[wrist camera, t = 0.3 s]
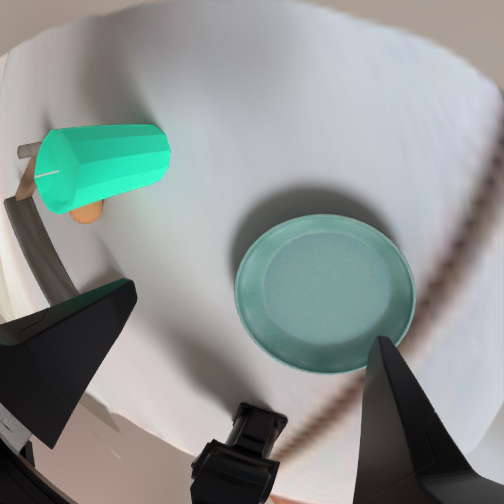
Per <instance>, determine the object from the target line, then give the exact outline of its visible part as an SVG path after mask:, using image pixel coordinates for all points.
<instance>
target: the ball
mask: <svg viewBox="0 0 504 504" xmlns="http://www.w3.org/2000/svg"><path fill="white" fill-rule="evenodd" d="M102 207H103V202H102V200H100V201H97V202H94V203H91V204H88V205H85V206H82V207H79V208H77V209H74V210H71V211H69V212H70V215H71V216H72V218H73V219H74V220H75V221H77V222H79V223H83V224H87V223H91V222H93V221H94V220H96V219H97V218H98V216H99V215H100V213H101V211H102Z"/></svg>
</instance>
